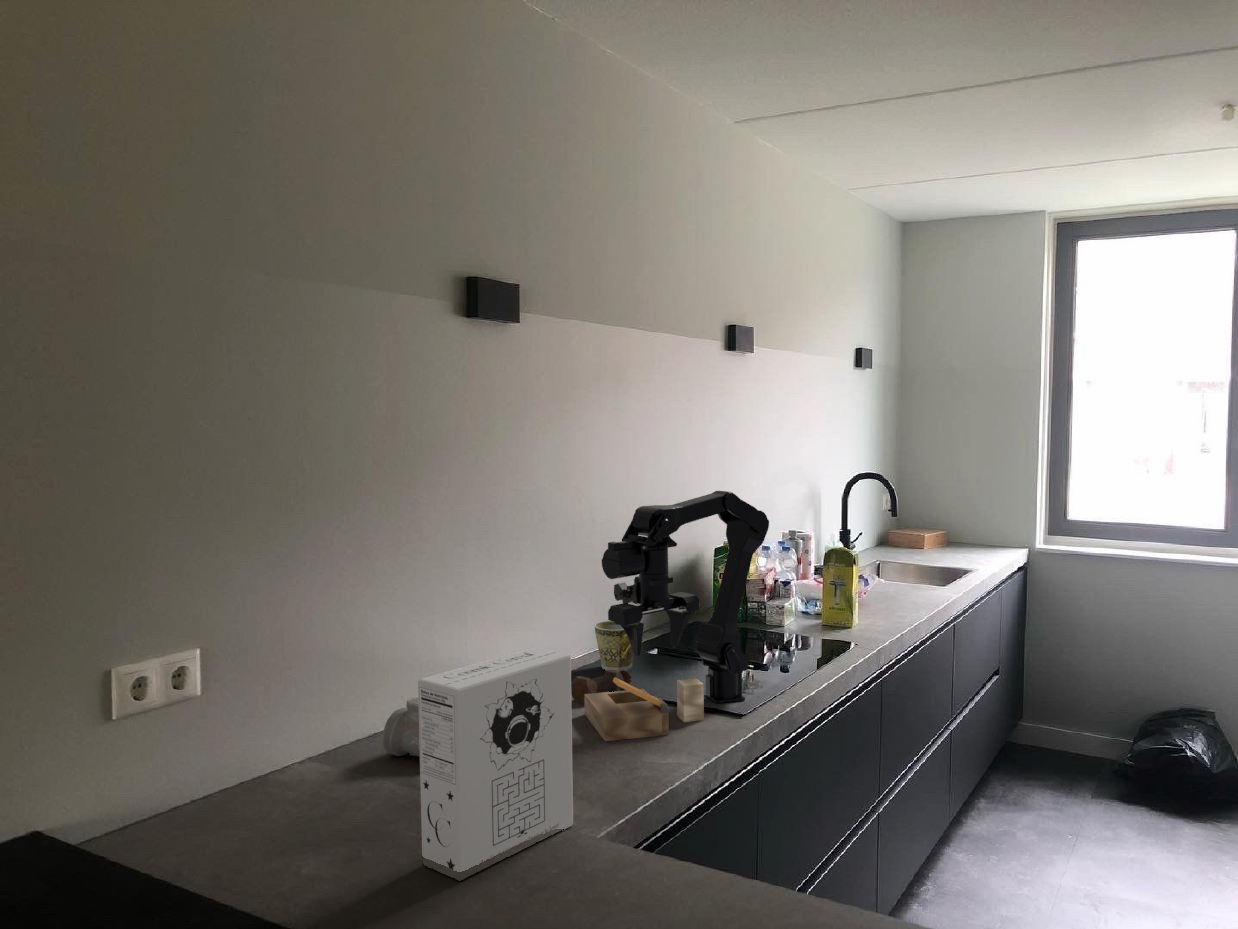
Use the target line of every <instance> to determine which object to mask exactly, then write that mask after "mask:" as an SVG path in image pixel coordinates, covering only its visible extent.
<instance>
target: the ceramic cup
mask: <svg viewBox="0 0 1238 929" xmlns="http://www.w3.org/2000/svg"><path fill="white" fill-rule="evenodd" d="M594 633H595V639H596V643H597V648H598V653H599V654H598V655H599V659H600V664H601V665H600V666H601V668H602V670H604V669H605V672H606V671H607V670H617V671H622V670H624V671H626V672H628V671H629V670H631V669H632V667H633V663H634V657H635V654H634V652H633V649H632V647H631V644H630V642H629V639H628V637H627V635H626V633H625V631H624V629H623V628H622V627H621V626H620V625H618V624H615V623H614V622H613V621H610V620H604V621H600V622H598V623H595V625H594Z"/></svg>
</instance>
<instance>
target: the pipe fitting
mask: <svg viewBox="0 0 1238 929" xmlns="http://www.w3.org/2000/svg"><path fill="white" fill-rule="evenodd" d="M381 738H382V739H381V742H382V747H383V749H384V751H385V752H386V753H388V754H390V755H392V756H396V757H402V756H405V755H408V754H411V755H414V756H417V757H419V758H420V745H419V704H418V697H410V698H407V699H406V707H401V708H398V709H397V710H394V712H392V713H391V714H390V716H389V717H388V718H387V720H386V722H385V724H384V728H383V731H382V737H381Z"/></svg>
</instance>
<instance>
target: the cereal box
mask: <svg viewBox="0 0 1238 929" xmlns="http://www.w3.org/2000/svg"><path fill="white" fill-rule="evenodd" d="M571 659H572V656H571V655H570V654H567V653H563V652H560V651H555V650H549V649H545V648H540V647H535V646H532V647H530V648H526V649H522V650H518V651H516V652H511V653H508V654H504V655H501V656H497V657H493V658H491V659H486V660H483V661H480V662H475V663H473V664H469V665H465V666H462V667H459V668H454V669H451V670H447V671H444V672H440V673H437V674H433V675H430V676H427V677H423V678H419V679H418V681H417V689H418V690H417V696H418V704H419V745H420V757H419V776H420V778H419V779H420V780H419V781H420V819H421V856H423V857H424V858H426V859H429V860H432V861H434V862H436V863H438V864H441V865H444V866H446V867H448V868H450V869H451V870H453V871H457V872H462V871H465V870H468V869H469V868H471V867H473V866H475V865H479V864H480V863H482V862H484V861H486V860H487V859H491V858H493V857H494V856H496V855H498V854H500V853H502V852H505V851H507V850H509V849H510V848H512V847H514V846H517V845H519V844H520V843H523V842H524V841H527V840H531V839H532V838H534V837H536V836H538V835H540V834H545V833H546V832H549V831H550V830H554V829H564V830H566V829H569V828H570V827H572V826H573V825H574V799H573V798H574V796H573V795H574V792H573V791H574V789H573V783H574V782H573V730H572V728H573V727H572V725H573V721H572V720H573V717H572V715H573V714H572V713H573V712H572V695H571V684H572V660H571Z"/></svg>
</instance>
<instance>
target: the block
mask: <svg viewBox="0 0 1238 929" xmlns="http://www.w3.org/2000/svg"><path fill="white" fill-rule="evenodd" d="M640 690H642V691H644V692H646V693H648V691H646V690H645V689H644V688H640ZM654 697H656V698H660V696H659V695H655V696H654ZM660 699H661V698H660ZM584 716H585V717H586V718H587V719H588V721H589V722H590V724H591V725H592V727H594V728H595V730H596V731H597V733H598V735H600V737H601V738H602V740H604V742H609V741H610V742H611V741H619V740H620V741H623V740H629V739H641V738H650V737H658V736H659V737H660V736H668V735H670V734H669V732H670V731H669V730H670V729H669V726H670V724H669V721H670V720H669V718H670V717H669V712H668V703H666V702H665V703H661V708H660V707H659V706H657V705H655V704H653V703H651V702H649V701H647V700H645V699H643V698H641V697H639V696H637V695H635V694H633V693H631V692H629V691H627V690H625V689H624V690H620V691H614V692H609V691H606V692H602V693H592V694H584Z"/></svg>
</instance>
